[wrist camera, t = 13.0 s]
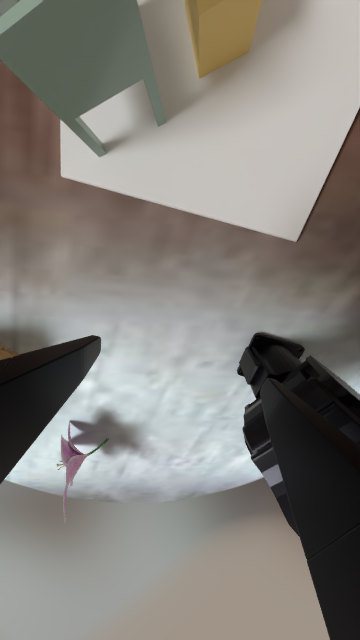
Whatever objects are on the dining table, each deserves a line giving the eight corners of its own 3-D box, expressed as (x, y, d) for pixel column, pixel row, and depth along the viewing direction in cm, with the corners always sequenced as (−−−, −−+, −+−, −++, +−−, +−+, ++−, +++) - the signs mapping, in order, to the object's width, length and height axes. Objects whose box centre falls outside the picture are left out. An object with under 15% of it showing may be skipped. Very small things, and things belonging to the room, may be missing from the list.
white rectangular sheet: (457, -108, 10) (466, -121, 10) (294, 241, 18) (296, 241, 17) (62, -218, 10) (57, -235, 10) (63, 177, 18) (60, 175, 17)
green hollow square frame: (166, 122, 15) (121, -62, 6) (99, 157, 17) (-14, 45, 8) (136, 6, 13) (3, -523, 4) (61, 57, 14) (-157, -258, 6)
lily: (91, 398, 30) (23, 444, 23) (131, 457, 28) (68, 529, 21) (83, 416, 38) (29, 455, 31) (113, 464, 35) (62, 518, 28)
